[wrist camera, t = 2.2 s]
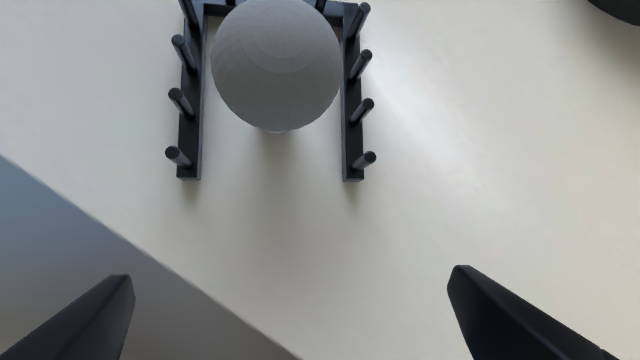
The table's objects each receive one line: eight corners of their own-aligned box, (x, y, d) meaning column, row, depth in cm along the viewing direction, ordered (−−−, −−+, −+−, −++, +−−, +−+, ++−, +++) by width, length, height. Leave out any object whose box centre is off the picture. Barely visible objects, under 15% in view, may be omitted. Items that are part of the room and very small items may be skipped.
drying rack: (359, 182, 22) (381, 171, 18) (181, 180, 21) (158, 167, 16) (354, 13, 24) (373, -33, 20) (189, -2, 22) (171, -57, 18)
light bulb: (209, 124, 21) (162, 36, 12) (264, 58, 23) (263, -72, 13) (284, 178, 22) (300, 136, 12) (334, 109, 23) (386, 21, 13)
